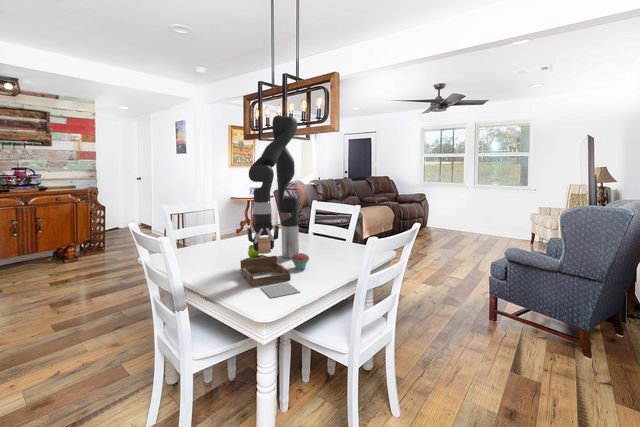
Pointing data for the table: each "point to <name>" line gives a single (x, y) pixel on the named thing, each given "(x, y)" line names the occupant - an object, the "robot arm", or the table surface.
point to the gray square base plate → (280, 290)
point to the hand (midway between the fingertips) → (263, 249)
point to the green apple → (253, 253)
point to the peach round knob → (264, 245)
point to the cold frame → (263, 270)
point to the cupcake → (300, 259)
